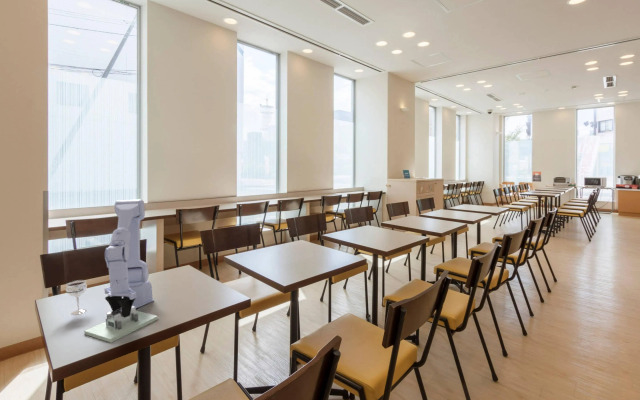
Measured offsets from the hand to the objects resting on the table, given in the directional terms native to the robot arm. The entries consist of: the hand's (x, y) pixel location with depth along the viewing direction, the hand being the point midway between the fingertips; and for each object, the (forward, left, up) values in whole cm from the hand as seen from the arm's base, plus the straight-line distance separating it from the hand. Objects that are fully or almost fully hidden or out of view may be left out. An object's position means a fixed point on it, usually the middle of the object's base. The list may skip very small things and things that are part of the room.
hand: (122, 315), depth 118 cm
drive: (0, 0, -3) cm, 3 cm away
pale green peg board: (0, 0, -4) cm, 4 cm away
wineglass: (-1, -28, -4) cm, 28 cm away
